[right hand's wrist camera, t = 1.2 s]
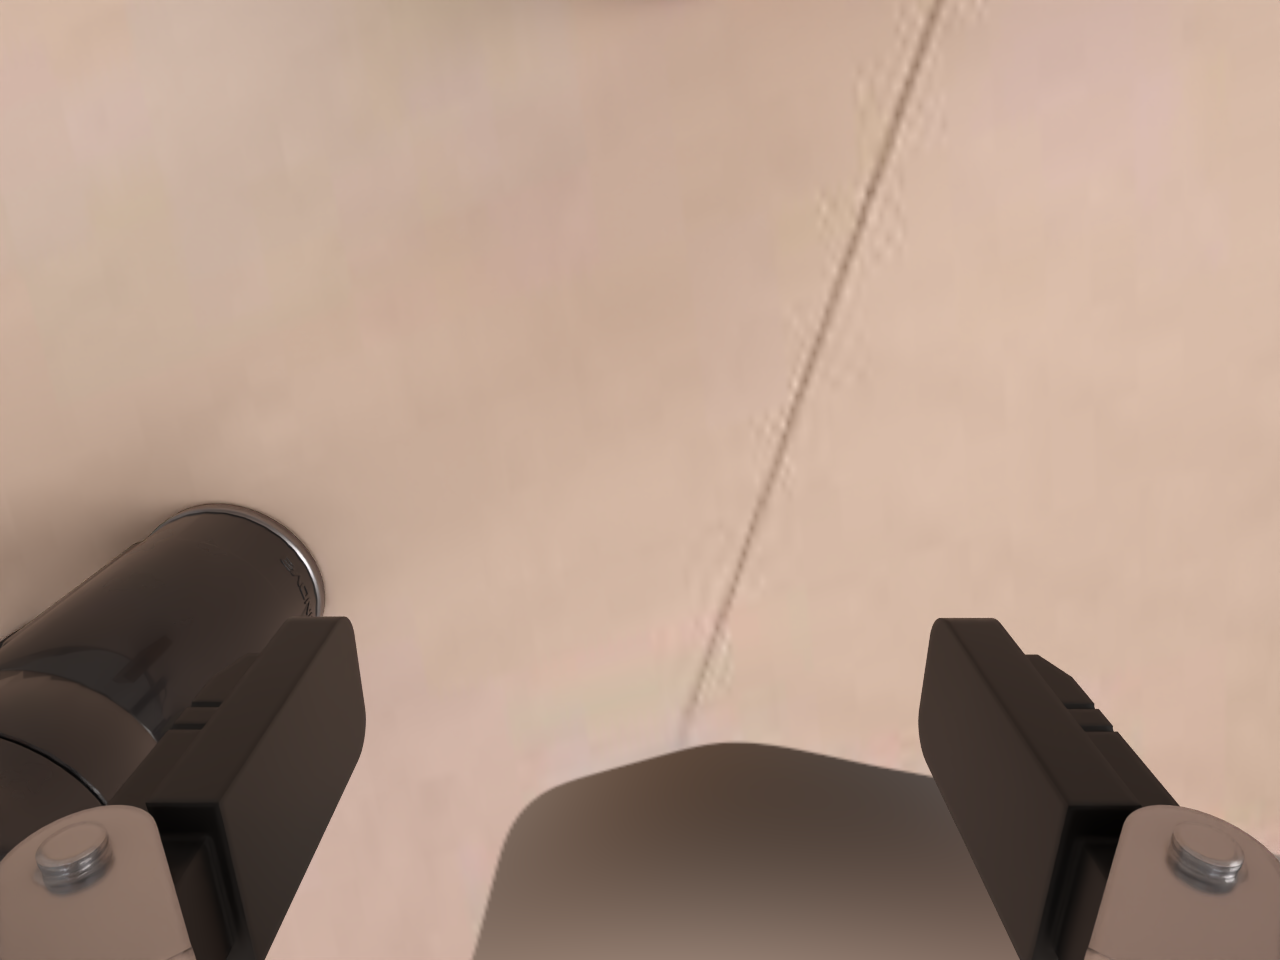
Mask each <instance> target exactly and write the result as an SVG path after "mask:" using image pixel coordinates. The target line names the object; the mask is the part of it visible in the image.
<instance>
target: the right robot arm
mask: <svg viewBox="0 0 1280 960" xmlns="http://www.w3.org/2000/svg"><path fill="white" fill-rule="evenodd" d="M324 605H325V591H324V585H323V581H322V577H321V574H320V572H319V569H318V567H317V565H316V563H315V561H314V559H313V557H312V556H311V554H310V553H309V551H308V550H307V549H306V547H305V546H304V545H303V544H302V543H301V542H300V540H299V539H298V538H297V537H296V536H295V535H293V534H292V533H291V532H290V531H289V530H288V529H286V528H285V527H284V526H282V525H281V524H279V523H278V522H276V521H275V520H273V519H271V518H269V517H267V516H265V515H263V514H261V513H259V512H256V511H253V510H250V509H247V508H243V507H239V506H234V505H226V504H209V505H201V506H196V507H192V508H189V509H186V510H184V511H181V512H179V513H177V514H175V515H174V516H172V517H171V518H169V519H168V520H166V521H165V522H164V523H162V524H161V525H160V526H159V527H157V528H156V529H155V530H154V531H153V532H152V533H151V534H150V536H149V537H148V538H146V539H145V540H144V541H142V542H141V543H136V544H133V545H132V546H131V547H129V548H128V549H127V550H125V551H124V552H123V553H121V554H120V555H119V556H117V557H116V558H115V559H113V560H112V561H111V562H109V563H108V564H107V565H105V566H104V567H103V568H101V569H100V570H99V571H97V572H96V573H95V574H93V575H92V576H91V577H89V578H88V579H87V580H85V581H84V582H83V583H81V584H80V585H79V586H77V587H76V588H75V589H73V590H72V591H71V592H69V593H68V594H67V595H65V596H64V597H63V598H61V599H60V600H59V601H57V602H56V603H55V604H53V605H52V606H51V607H49V608H48V609H47V610H45V611H44V612H43V613H41V614H40V615H39V616H37V617H36V618H35V619H33V620H32V621H31V622H29V623H28V624H27V625H25V626H24V627H23V628H21V629H20V630H18V631H16V632H14V633H13V634H11V635H9V636H8V637H7V638H5V639H4V640H2V641H1V642H0V960H265V958H266V956H267V954H268V951H269V949H270V947H271V945H272V943H273V941H274V939H275V936H276V934H277V932H278V930H279V928H280V926H281V924H282V922H283V919H284V917H285V915H286V913H287V911H288V909H289V907H290V905H291V902H292V900H293V898H294V896H295V894H296V892H297V890H298V887H299V885H300V883H301V881H302V879H303V877H304V875H305V873H306V870H307V868H308V866H309V864H310V862H311V860H312V858H313V855H314V853H315V851H316V849H317V847H318V845H319V843H320V841H321V838H322V836H323V834H324V832H325V830H326V828H327V826H328V824H329V821H330V819H331V817H332V815H333V813H334V811H335V809H336V806H337V804H338V802H339V800H340V798H341V796H342V794H343V792H344V789H345V787H346V785H347V783H348V781H349V779H350V777H351V775H352V772H353V770H354V768H355V766H356V764H357V762H358V759H359V757H360V754H361V751H362V747H363V743H364V737H365V727H366V713H365V705H364V698H363V691H362V684H361V677H360V670H359V663H358V657H357V650H356V643H355V636H354V630H353V627H352V624H351V622H350V620H349V619H348V618H347V617H322V616H323V612H324ZM918 725H919V737H920V743H921V748H922V752H923V755H924V758H925V761H926V763H927V765H928V767H929V769H930V771H931V773H932V775H933V778H934V780H935V782H936V784H937V786H938V788H939V790H940V792H941V794H942V797H943V799H944V801H945V803H946V805H947V807H948V809H949V811H950V813H951V815H952V818H953V820H954V822H955V824H956V826H957V828H958V830H959V832H960V834H961V836H962V839H963V841H964V843H965V845H966V847H967V849H968V851H969V853H970V855H971V858H972V860H973V862H974V864H975V866H976V868H977V870H978V872H979V874H980V877H981V879H982V881H983V883H984V885H985V887H986V889H987V891H988V893H989V895H990V898H991V900H992V902H993V904H994V906H995V908H996V910H997V912H998V914H999V917H1000V919H1001V921H1002V923H1003V925H1004V927H1005V929H1006V931H1007V933H1008V935H1009V938H1010V940H1011V942H1012V944H1013V946H1014V948H1015V950H1016V952H1017V954H1018V956H1019V958H1020V960H1280V862H1279V861H1278V859H1277V858H1276V857H1275V856H1274V855H1273V854H1272V853H1271V852H1270V851H1269V850H1268V849H1267V848H1266V847H1265V846H1264V845H1262V844H1261V843H1260V842H1258V841H1257V840H1256V839H1254V838H1253V837H1252V836H1250V835H1249V834H1247V833H1246V832H1244V831H1242V830H1241V829H1239V828H1238V827H1236V826H1234V825H1232V824H1230V823H1228V822H1226V821H1224V820H1222V819H1219V818H1217V817H1215V816H1212V815H1210V814H1207V813H1204V812H1201V811H1198V810H1194V809H1190V808H1185V807H1180V806H1179V805H1178V803H1177V802H1176V801H1175V800H1174V799H1173V797H1172V796H1171V795H1170V794H1169V793H1168V791H1167V790H1166V789H1165V788H1164V787H1163V785H1162V784H1161V783H1160V782H1159V781H1158V779H1157V778H1156V777H1155V776H1154V775H1153V773H1152V772H1151V771H1150V770H1149V769H1148V768H1147V766H1146V765H1145V764H1144V763H1143V762H1142V760H1141V759H1140V758H1139V757H1138V756H1137V754H1136V753H1135V752H1134V751H1133V750H1132V748H1131V747H1130V746H1129V745H1128V744H1127V742H1126V741H1125V740H1124V739H1123V738H1122V736H1121V735H1120V734H1119V733H1118V732H1114V731H1113V726H1112V724H1111V723H1110V722H1109V721H1108V720H1107V718H1106V717H1105V716H1104V715H1103V714H1102V712H1101V711H1100V710H1099V709H1095V708H1094V703H1093V702H1092V700H1091V699H1090V698H1089V697H1088V696H1087V694H1086V693H1085V692H1084V691H1083V690H1082V688H1081V687H1080V686H1079V685H1078V684H1077V682H1076V681H1075V680H1074V679H1073V678H1072V677H1071V676H1069V675H1068V674H1066V673H1065V672H1063V671H1062V670H1060V669H1059V668H1057V667H1056V666H1054V665H1053V664H1051V663H1050V662H1048V661H1047V660H1045V659H1044V658H1042V657H1041V656H1039V655H1025V654H1024V653H1023V652H1022V650H1021V649H1020V648H1019V646H1018V645H1017V644H1016V643H1015V641H1014V640H1013V639H1012V637H1011V636H1010V635H1009V634H1008V632H1007V631H1006V630H1005V628H1004V627H1003V626H1002V625H1001V623H1000V622H999V621H998V620H996V619H994V618H938V619H937V620H936V621H935V622H934V624H933V626H932V629H931V634H930V640H929V647H928V653H927V660H926V667H925V674H924V681H923V687H922V694H921V701H920V708H919V719H918Z"/></svg>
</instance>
